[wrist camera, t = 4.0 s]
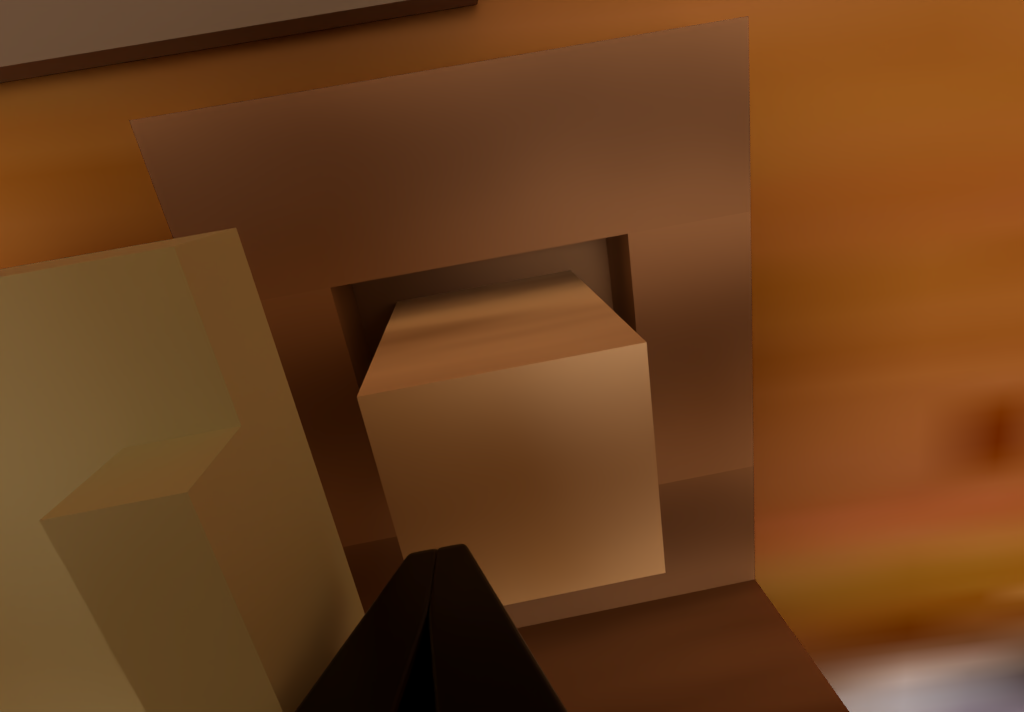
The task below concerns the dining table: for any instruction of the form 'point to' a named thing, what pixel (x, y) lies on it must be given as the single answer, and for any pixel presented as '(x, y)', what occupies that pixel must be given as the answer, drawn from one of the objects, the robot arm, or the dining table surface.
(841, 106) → the dining table surface
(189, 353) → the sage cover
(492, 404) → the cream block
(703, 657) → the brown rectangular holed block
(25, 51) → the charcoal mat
